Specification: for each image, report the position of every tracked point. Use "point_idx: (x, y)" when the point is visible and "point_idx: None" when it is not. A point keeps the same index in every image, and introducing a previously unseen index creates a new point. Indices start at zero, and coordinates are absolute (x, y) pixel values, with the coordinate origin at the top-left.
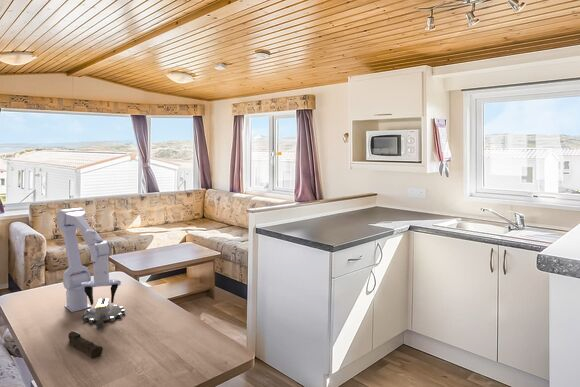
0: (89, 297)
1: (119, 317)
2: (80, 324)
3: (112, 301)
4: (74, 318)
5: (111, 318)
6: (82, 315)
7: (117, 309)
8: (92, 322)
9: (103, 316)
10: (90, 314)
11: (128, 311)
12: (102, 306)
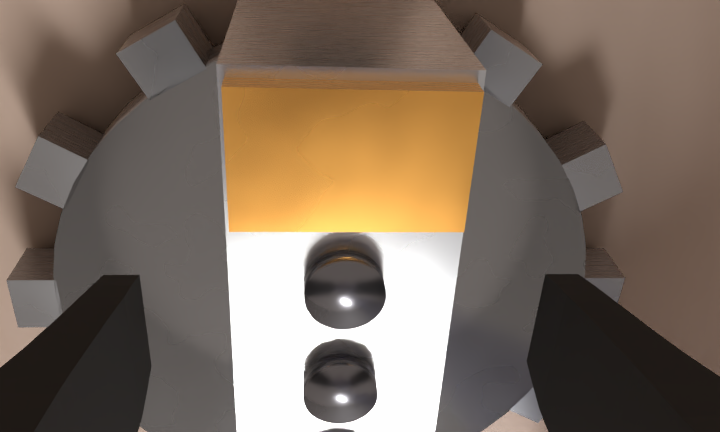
0: (704, 386)
1: (67, 121)
2: (641, 59)
3: (92, 290)
4: (691, 280)
5: (165, 23)
6: (619, 270)
7: None
8: (479, 15)
9: (297, 5)
10: (517, 257)
11: (5, 330)
12: (313, 85)
